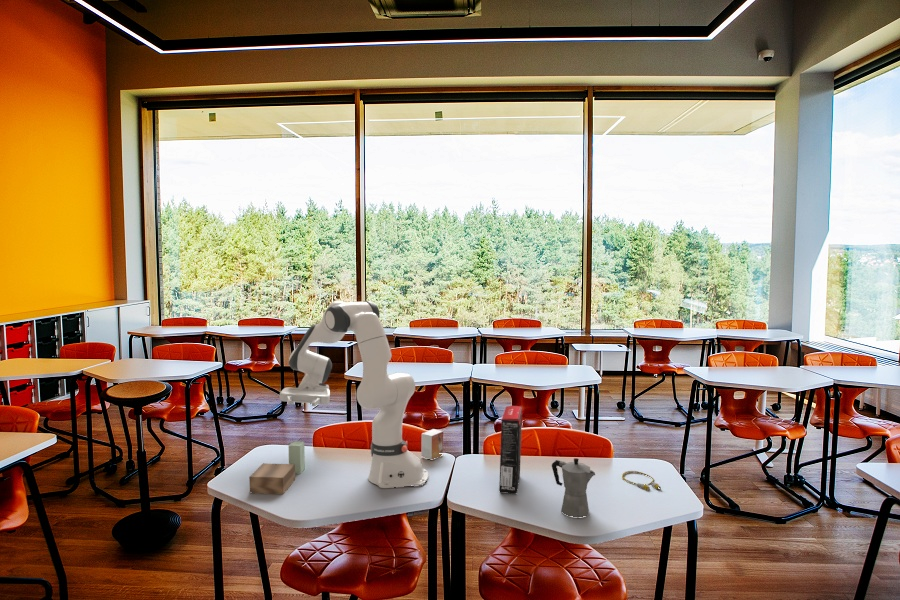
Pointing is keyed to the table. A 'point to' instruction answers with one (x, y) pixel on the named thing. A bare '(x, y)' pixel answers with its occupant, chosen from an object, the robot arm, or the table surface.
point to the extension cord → (642, 484)
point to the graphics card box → (510, 449)
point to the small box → (432, 444)
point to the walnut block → (272, 478)
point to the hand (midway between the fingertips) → (301, 403)
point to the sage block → (297, 456)
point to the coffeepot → (574, 486)
